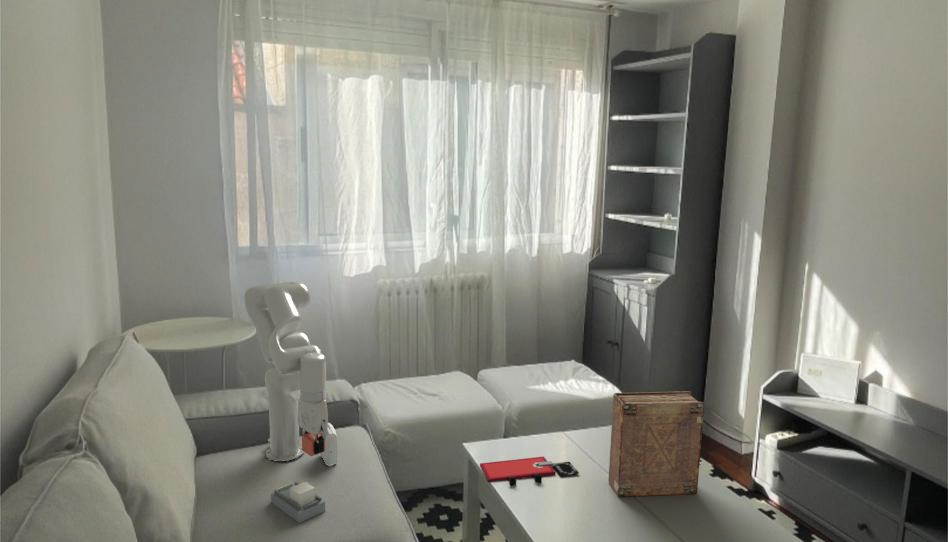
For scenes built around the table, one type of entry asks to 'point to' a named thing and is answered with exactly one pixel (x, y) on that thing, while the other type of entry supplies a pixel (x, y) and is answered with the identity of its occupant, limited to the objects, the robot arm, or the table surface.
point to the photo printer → (330, 446)
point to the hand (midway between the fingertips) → (313, 448)
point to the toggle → (302, 494)
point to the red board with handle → (524, 469)
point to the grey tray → (292, 509)
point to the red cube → (309, 443)
